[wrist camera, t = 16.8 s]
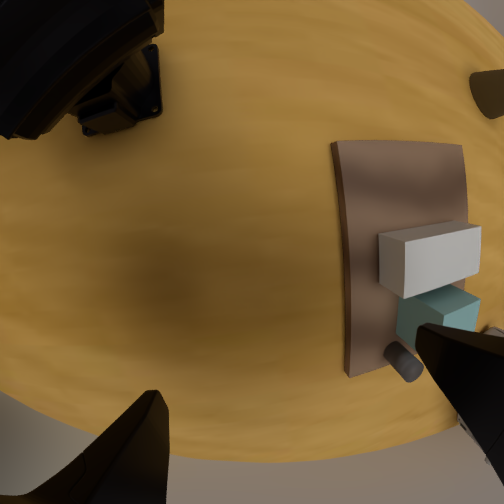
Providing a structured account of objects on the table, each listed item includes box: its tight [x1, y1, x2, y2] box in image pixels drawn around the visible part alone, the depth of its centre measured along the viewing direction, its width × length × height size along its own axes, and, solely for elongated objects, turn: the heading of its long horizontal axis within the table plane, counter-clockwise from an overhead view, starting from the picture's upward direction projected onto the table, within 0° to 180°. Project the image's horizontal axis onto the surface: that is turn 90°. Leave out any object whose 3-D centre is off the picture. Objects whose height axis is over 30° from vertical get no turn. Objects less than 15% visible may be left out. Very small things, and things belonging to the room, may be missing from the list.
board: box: [331, 140, 468, 382], centre depth 19 cm, size 20×14×5 cm
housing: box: [378, 221, 481, 299], centre depth 18 cm, size 4×9×4 cm, turn 98°
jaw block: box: [396, 284, 481, 352], centre depth 18 cm, size 4×4×6 cm
